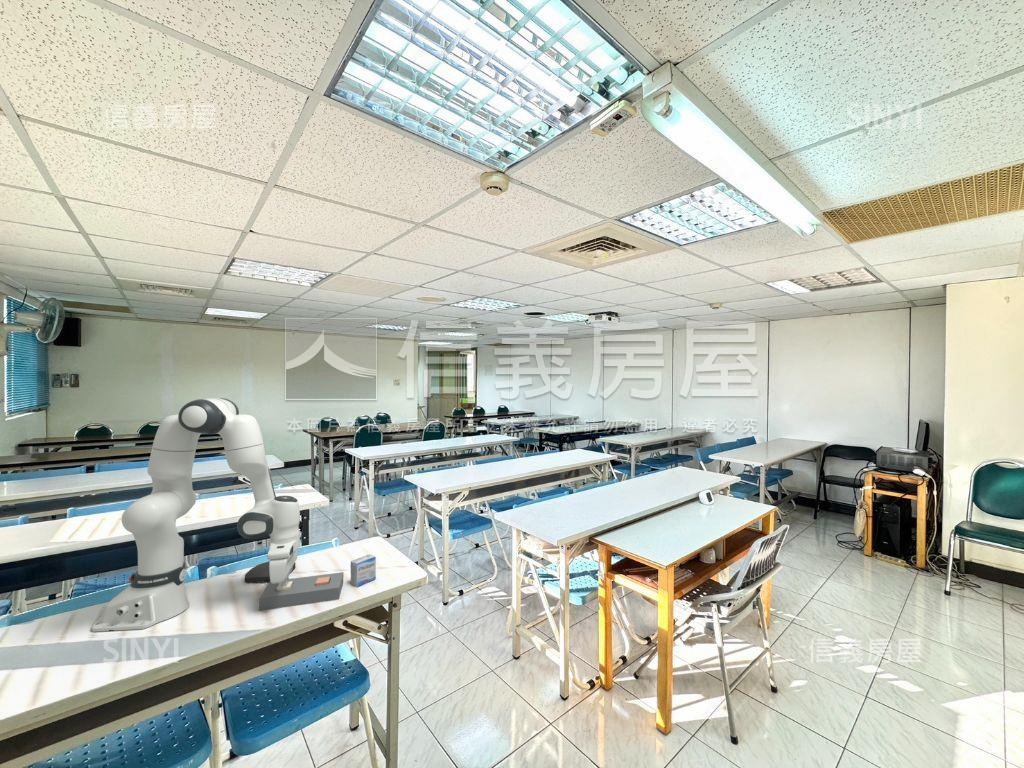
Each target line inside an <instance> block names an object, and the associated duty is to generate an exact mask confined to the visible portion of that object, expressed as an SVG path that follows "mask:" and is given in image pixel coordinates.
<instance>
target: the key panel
mask: <svg viewBox="0 0 1024 768" xmlns="http://www.w3.org/2000/svg"><path fill="white" fill-rule="evenodd" d="M322 577H330V583H329V584H326V585H318V586H316V581H317V579H318V578H322ZM290 581H293V585H292V587H291V589H287V590H280V591H276V588H277V587H278V585H279V583H277V584H272V583H271V581H270V582H269V583H267V585H266V587H265V588H264V590H263V591H262V593H261V594H260V596H259V597H258V611H261V612H262V611H266V610H273V609H280V608H287V607H288V608H289V607H294V606H295V607H296V606H301V605H302V606H303V605H309V604H316V603H324V602H330V601H338V600H340V596H341V594H342V590H343V586H344V572H342V571H340V572H336V573H335V572H334V573H326V574H319V575H318V574H317V575H310V576H309V575H308V576H301V577H293V578H289V582H290Z"/></svg>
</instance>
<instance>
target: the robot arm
mask: <svg viewBox="0 0 1024 768" xmlns="http://www.w3.org/2000/svg"><path fill="white" fill-rule="evenodd" d="M260 427H261V426H260V425H259V423H258V420H257V418H256V417H254V416H253V415H250V414H245V413H244V414H243V413H240V411H239V407H238V405H237V404H236V403H235V402H234V401H232V400H230V399H227V398H223V397H222V398H221V397H207V398H201V399H199V398H198V399H193V400H190V401H189V402H187V403H186V404H184V405H183V406H182V407H181V408H180V410H179V412H178V413H177V414H171V415H168V416H166V417H164V418H163V419H162V420H161V421H160V424H159V426H158V428H157V430H156V432H155V437H154V439H153V442H152V447H151V452H150V456H149V460H148V465H147V474H148V476H150V477H151V480H152V481H151V482H152V490H151V493H150V494H147V495H145V496H142V497H141V498H139V499H137V500H135V501H134V502H132V503H131V504H130V505H129V506H128V507H127V508H126V509H124V511H123V513H122V515H121V525H122V526H123V528H124V529H125V530H126V531H127V532H129V533H130V534H131V535H132V536H133V539H134V541H135V544H136V548H137V570H136V571H135V572H134V573H132V574H131V576H129V577H128V578H127V579H126V581H127V583H130V584H129V585H128V586H127V587H126V588H124V589H123V590H122V591H120V592H119V593H118V594H117V595H115V596H114V597H113V598H112V599H111V600H110V601H109V602H108V603H107V605H106V606H105V607H104V611H103V615H102V616H100V617H99V618H98V619H96V620H95V622H94V623H93V624H92V627H91V632H92V633H93V632H94V633H95V632H109V630H114V631H129V630H131V631H132V630H144V629H147V628H149V627H151V626H154V625H156V624H157V623H160V622H164V621H166V620H169V619H171V618H174V617H175V616H178V615H179V614H181V613H182V612H184V611H185V610H187V609H188V608H189V607H190V602H189V598H188V596H187V592H186V587H185V586H186V585H185V580H186V574H187V573H186V563H185V561H184V559H185V556H184V555H185V552H184V551H185V550H184V549H185V548H184V547H185V543H184V542H185V540H184V538H183V537H182V536H181V535H180V534H179V533H178V532H179V531H178V529H177V526H176V525H177V524H176V521H177V520H178V519H180V518H181V517H183V516H185V515H186V514H187V513H188V512H190V510H191V509H192V508H193V507H194V505H195V504H196V502H197V493H196V491H195V490H194V489H193V488H194V487H193V479H192V478H193V477H192V476H193V475H192V474H193V467H194V463H195V462H194V461H195V456H196V450H197V447H198V441H199V438H200V435H202V434H206V435H216V434H218V435H220V437H221V439H222V442H223V447H224V455H225V460H226V463H227V464H228V467H229V469H230V470H231V471H233V472H235V473H237V474H240V475H242V476H244V477H246V478H247V479H248V480H249V483H250V485H251V489H252V490H251V491H252V494H253V499H254V506H253V508H251V509H249V510H248V511H246V512H245V513H243V514H242V515H241V517H240V518H239V519H238V520H237V523H236V529H237V532H238V534H239V535H240V537H242V538H244V539H247V540H256V539H260V538H265V537H267V536H269V537H270V538H269V539H270V540H269V541H270V542H269V549H268V552H267V561H268V562H269V561H270V562H269V572H270V581H271V583H272V584H277V583H281V586H282V587H284V586H287V584H288V582H289V579H290V575H291V573H290V570H291V568H292V566H293V565H294V563H296V561H297V559H298V549H299V548H300V547H301V546H300V545H301V541H300V539H301V538H300V537H301V532H300V527H299V526H300V521H301V512H300V511H301V510H300V504H299V500H298V499H297V498H296V497H294V496H292V495H291V496H290V495H278V496H277V495H276V492H275V488H274V484H273V480H272V474H271V472H270V469H269V466H268V461H267V456H266V449H265V445H264V439H263V434H262V430H261V428H260Z"/></svg>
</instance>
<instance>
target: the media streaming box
mask: <svg viewBox="0 0 1024 768" xmlns="http://www.w3.org/2000/svg"><path fill="white" fill-rule="evenodd" d="M269 562H270V560H268V561H265V562H262V563H259V564H257V565H255V566H253V567H252V568H251V569H249V570H248V571H247V572H246V573H245V574H244V583H245V584H269V582H270V572H269ZM296 565H297V563H296V562H295V563H294V565H293V566H292V568H291V570H290V574H291V573H292V572H293V571H295V569H296Z"/></svg>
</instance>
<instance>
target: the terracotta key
mask: <svg viewBox="0 0 1024 768" xmlns="http://www.w3.org/2000/svg"><path fill="white" fill-rule="evenodd" d="M329 583H330V577H322V578H318V579H317V581H316V586H318V585H326V584H329Z"/></svg>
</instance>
